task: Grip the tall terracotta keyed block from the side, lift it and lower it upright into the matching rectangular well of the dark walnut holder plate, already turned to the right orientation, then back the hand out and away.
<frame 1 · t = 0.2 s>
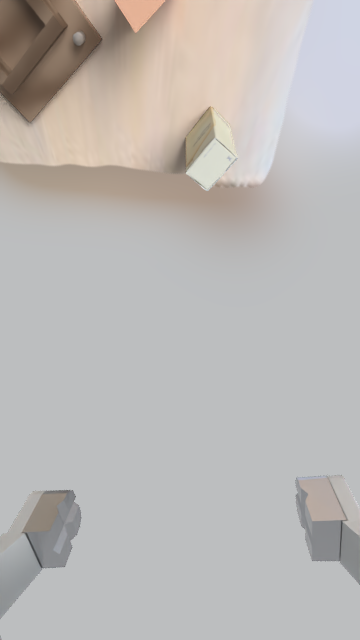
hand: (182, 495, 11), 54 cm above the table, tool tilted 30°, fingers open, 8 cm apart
keyed holder: (14, 22, 41), on the table
skincare box: (207, 132, 51), on the table
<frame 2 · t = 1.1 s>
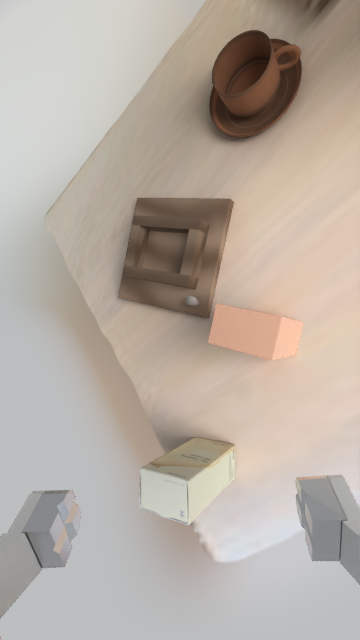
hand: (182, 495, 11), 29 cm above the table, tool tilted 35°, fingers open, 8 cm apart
keyed holder: (173, 254, 47), on the table
cup and saucer: (256, 99, 42), on the table
keyed block: (273, 332, 39), on the table
skincare box: (214, 456, 42), on the table
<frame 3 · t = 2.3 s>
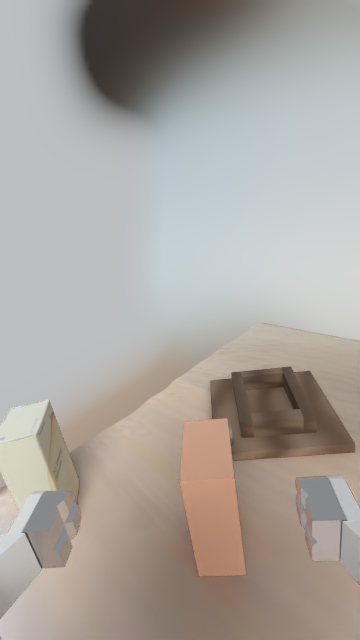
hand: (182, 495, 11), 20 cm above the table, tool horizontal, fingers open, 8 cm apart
keyed holder: (269, 413, 45), on the table
keyed block: (220, 537, 30), on the table
skincare box: (57, 509, 36), on the table
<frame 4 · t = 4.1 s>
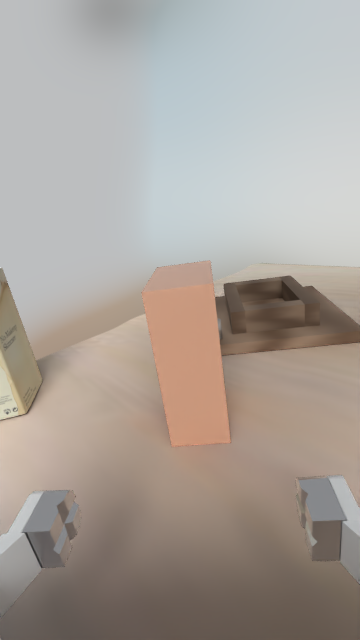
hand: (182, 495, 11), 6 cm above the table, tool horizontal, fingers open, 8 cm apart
keyed holder: (265, 320, 39), on the table
keyed block: (201, 413, 24), on the table
skincare box: (13, 402, 30), on the table
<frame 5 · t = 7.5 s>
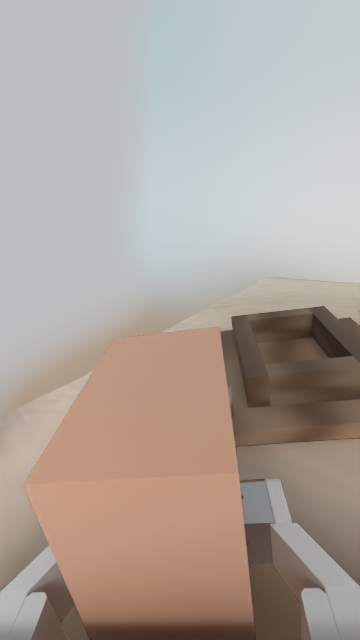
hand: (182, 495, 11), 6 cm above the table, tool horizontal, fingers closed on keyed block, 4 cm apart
keyed holder: (292, 373, 27), on the table
keyed block: (200, 616, 13), on the table, touching gripper
when the fingers open (8 cm above the table, at t = 15.0 s): keyed block drops 1 cm, resting on keyed holder.
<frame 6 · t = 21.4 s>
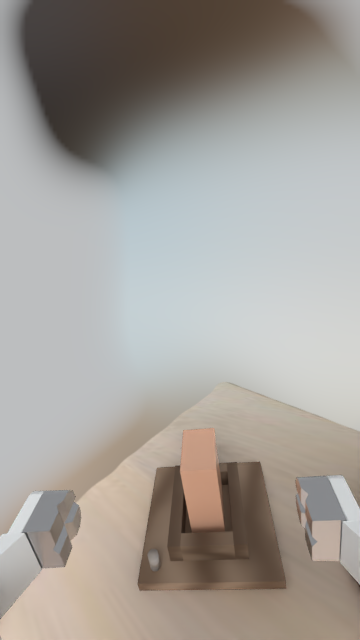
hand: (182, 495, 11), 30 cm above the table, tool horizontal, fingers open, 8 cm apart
keyed holder: (209, 519, 42), on the table
keyed block: (208, 513, 41), point 1 cm above the table, touching keyed holder
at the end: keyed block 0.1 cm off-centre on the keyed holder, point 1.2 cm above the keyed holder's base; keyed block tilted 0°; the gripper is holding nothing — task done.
